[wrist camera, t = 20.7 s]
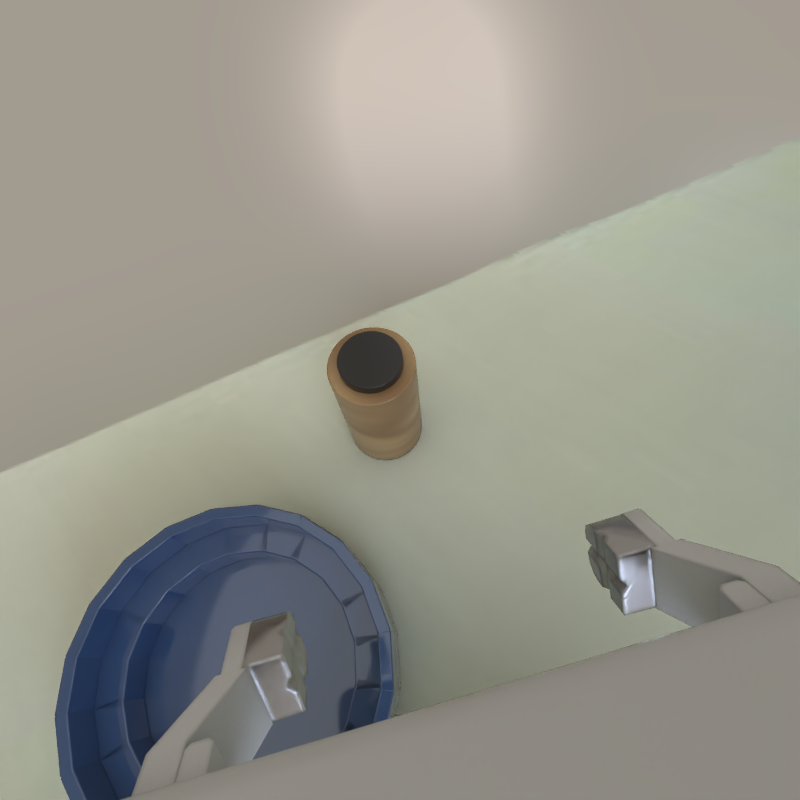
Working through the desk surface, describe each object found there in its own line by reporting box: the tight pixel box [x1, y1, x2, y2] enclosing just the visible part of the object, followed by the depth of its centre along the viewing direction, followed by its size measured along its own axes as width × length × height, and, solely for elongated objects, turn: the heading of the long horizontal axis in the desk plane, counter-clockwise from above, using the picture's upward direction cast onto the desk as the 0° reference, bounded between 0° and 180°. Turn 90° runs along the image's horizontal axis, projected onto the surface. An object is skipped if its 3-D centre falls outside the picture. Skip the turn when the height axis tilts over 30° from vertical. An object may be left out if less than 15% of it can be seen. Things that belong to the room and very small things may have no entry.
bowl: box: [55, 505, 401, 800], centre depth 26 cm, size 15×15×4 cm
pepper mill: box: [327, 328, 422, 460], centre depth 29 cm, size 4×4×9 cm
